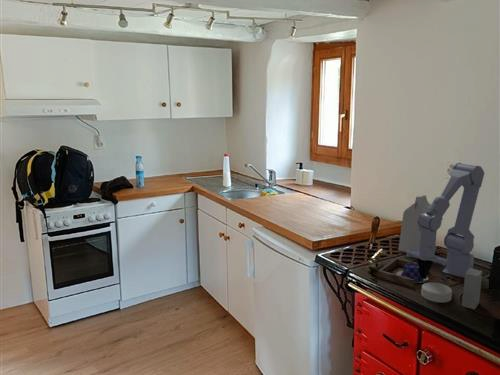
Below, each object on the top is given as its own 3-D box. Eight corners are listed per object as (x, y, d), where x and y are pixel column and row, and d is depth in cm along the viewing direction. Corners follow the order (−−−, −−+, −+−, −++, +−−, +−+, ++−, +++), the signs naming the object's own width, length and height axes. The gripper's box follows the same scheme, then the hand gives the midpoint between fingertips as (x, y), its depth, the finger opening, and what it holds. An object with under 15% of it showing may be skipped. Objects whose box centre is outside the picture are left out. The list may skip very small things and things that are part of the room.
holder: (429, 272, 174) (429, 265, 174) (412, 287, 161) (413, 280, 160) (395, 263, 183) (396, 257, 183) (377, 277, 170) (377, 270, 169)
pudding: (389, 276, 172) (390, 263, 171) (409, 269, 178) (410, 257, 177) (414, 287, 162) (415, 274, 161) (434, 280, 168) (436, 267, 167)
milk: (412, 244, 207) (416, 191, 202) (435, 251, 198) (440, 196, 193) (398, 250, 200) (402, 195, 194) (421, 257, 191) (426, 200, 185)
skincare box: (465, 299, 151) (469, 267, 149) (479, 303, 148) (483, 270, 146) (461, 306, 146) (464, 273, 144) (475, 309, 144) (478, 276, 141)
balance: (378, 260, 187) (379, 246, 185) (387, 263, 184) (388, 248, 183) (364, 270, 177) (365, 254, 176) (374, 272, 174) (375, 257, 173)
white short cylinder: (437, 305, 147) (438, 296, 147) (414, 293, 156) (415, 284, 155) (457, 299, 151) (458, 290, 151) (434, 288, 160) (435, 279, 160)
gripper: (404, 243, 166) (401, 276, 168) (443, 251, 156) (440, 286, 159) (411, 238, 171) (408, 270, 174) (449, 246, 162) (446, 280, 164)
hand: (424, 277), depth 167 cm, fingers closed
